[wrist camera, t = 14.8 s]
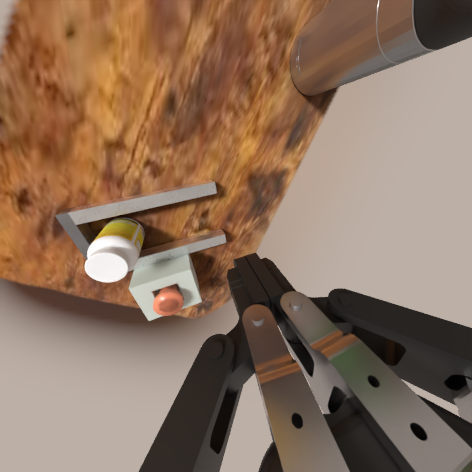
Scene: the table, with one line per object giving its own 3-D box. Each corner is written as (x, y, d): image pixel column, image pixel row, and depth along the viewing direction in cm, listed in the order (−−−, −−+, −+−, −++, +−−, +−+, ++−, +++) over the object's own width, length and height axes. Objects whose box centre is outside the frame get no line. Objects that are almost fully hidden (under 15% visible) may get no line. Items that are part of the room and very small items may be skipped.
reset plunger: (178, 275, 32) (178, 290, 28) (185, 293, 34) (186, 309, 31) (150, 283, 30) (148, 300, 27) (160, 301, 33) (159, 319, 30)
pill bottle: (96, 229, 30) (61, 266, 20) (127, 209, 30) (106, 237, 20) (125, 253, 33) (106, 294, 24) (152, 235, 33) (145, 269, 24)
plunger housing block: (186, 246, 36) (190, 269, 30) (197, 277, 41) (202, 303, 34) (137, 260, 34) (128, 288, 28) (153, 292, 39) (149, 322, 32)
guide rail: (211, 179, 32) (214, 181, 29) (222, 236, 38) (226, 242, 36) (65, 209, 27) (54, 215, 24) (105, 269, 33) (100, 279, 30)
